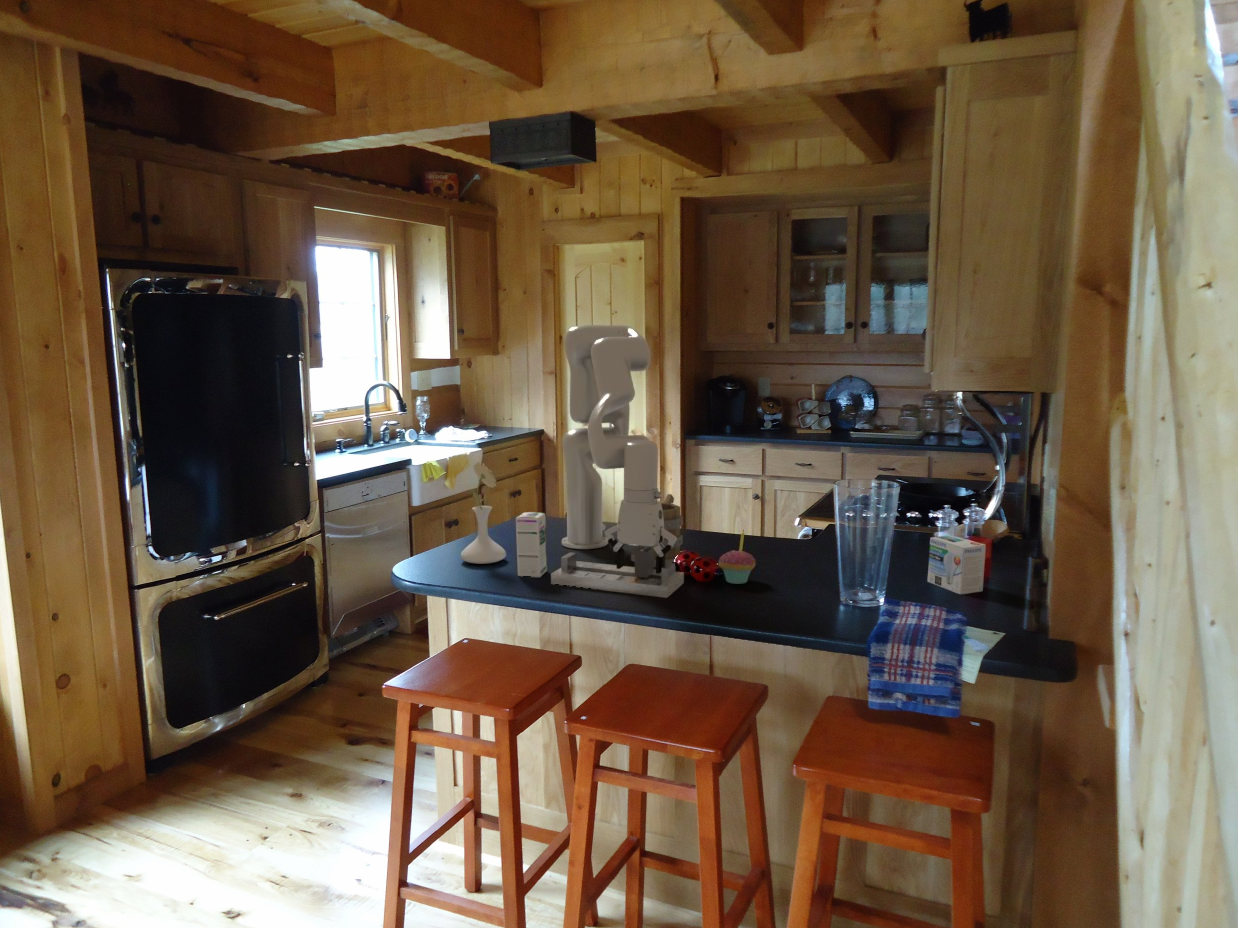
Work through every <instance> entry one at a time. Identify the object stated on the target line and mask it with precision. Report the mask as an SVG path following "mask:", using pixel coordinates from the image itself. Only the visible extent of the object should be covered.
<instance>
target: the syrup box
mask: <svg viewBox="0 0 1238 928" xmlns="http://www.w3.org/2000/svg"><path fill="white" fill-rule="evenodd" d="M546 522H547V521H546V513H545V512H538V511H536V512H535V511H528V512H523V513H521V514H519V515H518V516H517V517H515V531H516V533H515V534H516V535H515V536H516V537H515V538H516V540H515V541H516V564H517V565H516V566H517V576H518V577H523V576H531V577H530V578H541V577H542V576H543V575H544V574H545V573H546V572H547V571H548V559H547V558H548V554H547V527H546Z"/></svg>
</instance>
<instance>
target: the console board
mask: <svg viewBox="0 0 1238 928" xmlns="http://www.w3.org/2000/svg"><path fill="white" fill-rule="evenodd" d="M684 578H685V573H684V571H683V572H682V571H681V572H680V571H676V566H675V563H667V564H666V565H665V566H664V567H662V572H661V573H659V574H656V568H654V573H653V574H652V575H650V576H649V577H648V578H644V577H635V566H629V565H628V566H627V565H624V566H623V567H622V568H620V569H617V564H606V563H598V562H590V561H578V560H577V552H568V553H567V554H565V555H562V556H561V557H560V568H558V569H556V570H555V571H553V572H551V573H550V584H551V585H555V584H559V585H558V586H563V585H567V586H566V587H572V586H576V587H575V588H580V587H583V589H588V588H591V590H597V589H598V590H600V591H606V592H616V593H622V594H623V593H624V594H633V595H641V596H649V597H657V598H658V597H659V598H665V599H666V598H668V597H670V596H671V595H672V594H673V593H674V592H675V591H677V590H678V589H679V588H680V587H681V586H682V585H683V584H684V582H685V579H684ZM568 585H569V586H568Z"/></svg>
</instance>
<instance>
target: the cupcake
mask: <svg viewBox="0 0 1238 928" xmlns="http://www.w3.org/2000/svg"><path fill="white" fill-rule="evenodd" d="M744 532H745V529H742V531H741V535H740V541H739V549H738V550H734V549H733V550H730V551H727V552H726V553H723V554H722V555H721V556H720V557H719V559H718V567H719V568H721V569H722V571H723V575H724V578H725V581H726V583H730V584H732V585H733V584H735V585H737V584H738V585H739V584H740V585H741V584H746V583H747V582H748V578H749V576H750V574H751V571H752V570H753V569H754V568H755V566H756V559H755V558H754V556H753V555H752V554H750V553H749V552H747V551H745V550H744V551H743V545H744V540H745V539H744V537H745V533H744Z"/></svg>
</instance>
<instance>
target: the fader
mask: <svg viewBox="0 0 1238 928" xmlns="http://www.w3.org/2000/svg"><path fill="white" fill-rule="evenodd" d="M634 553H635V562H634V567H635V577H644V578H648V577H649V576H650V575H652V574H653V573H654V569H655V567H654V548H653V547H643V546H641V547H639V548H638V549H637V548H636V549H635V550H634Z"/></svg>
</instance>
